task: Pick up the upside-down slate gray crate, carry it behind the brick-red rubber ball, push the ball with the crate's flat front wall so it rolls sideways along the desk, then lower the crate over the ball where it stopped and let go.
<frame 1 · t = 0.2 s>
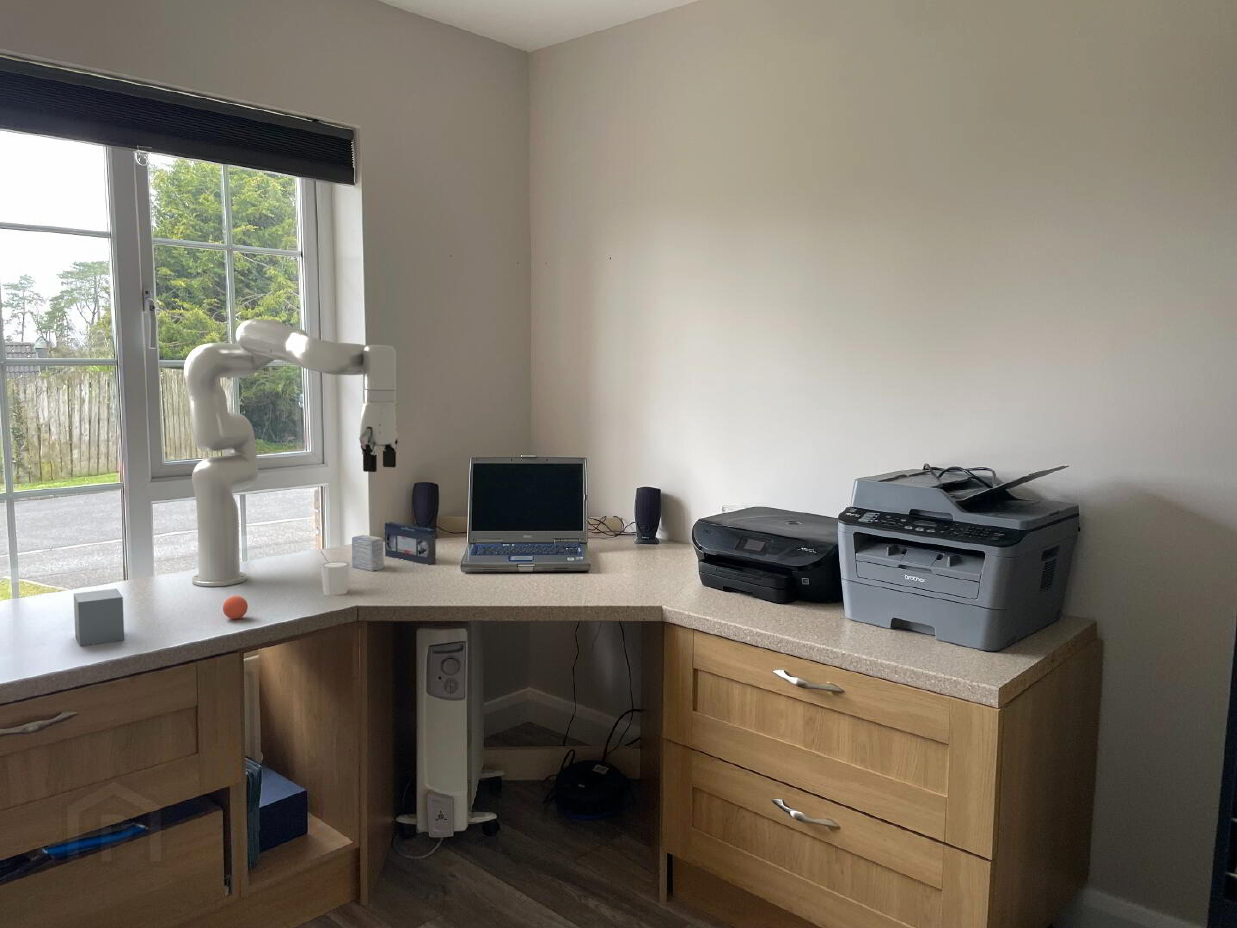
hand: (379, 469, 215), 31 cm above the table, tool pointing down, fingers open, 9 cm apart
shot glass: (335, 592, 221), on the table
slate gray crate: (99, 637, 182), on the table
light grey block: (367, 569, 247), on the table
ball: (235, 607, 197), on the table
vhs cassette tape: (409, 561, 258), on the table
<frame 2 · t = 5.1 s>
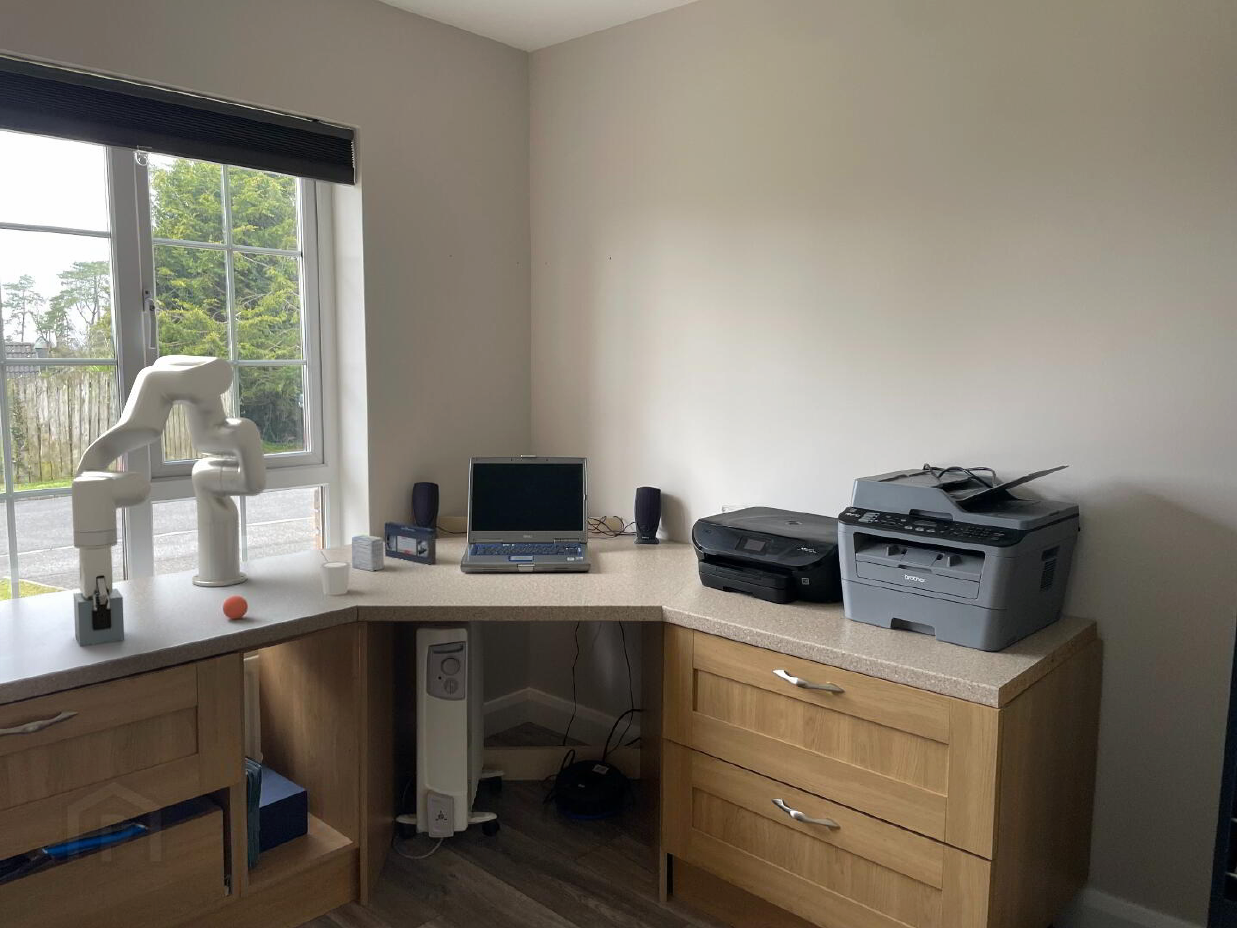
hand: (99, 623, 181), 3 cm above the table, tool pointing down, fingers closed on slate gray crate, 7 cm apart
slate gray crate: (99, 637, 182), on the table, touching gripper
everything else where it was.
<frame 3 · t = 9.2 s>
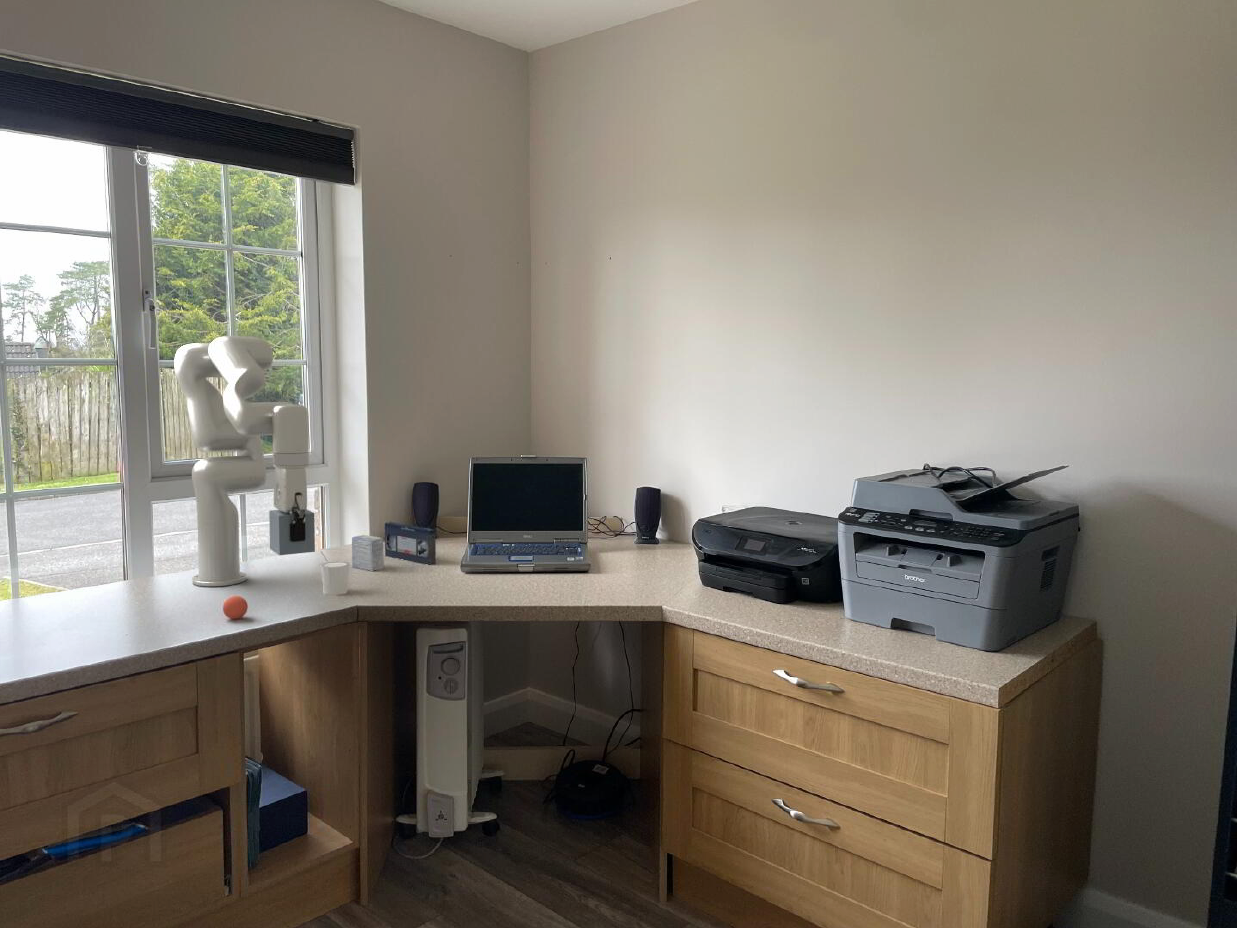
hand: (292, 537, 203), 17 cm above the table, tool pointing down, fingers closed on slate gray crate, 7 cm apart
slate gray crate: (292, 550, 203), point 14 cm above the table, touching gripper
everything else where it was.
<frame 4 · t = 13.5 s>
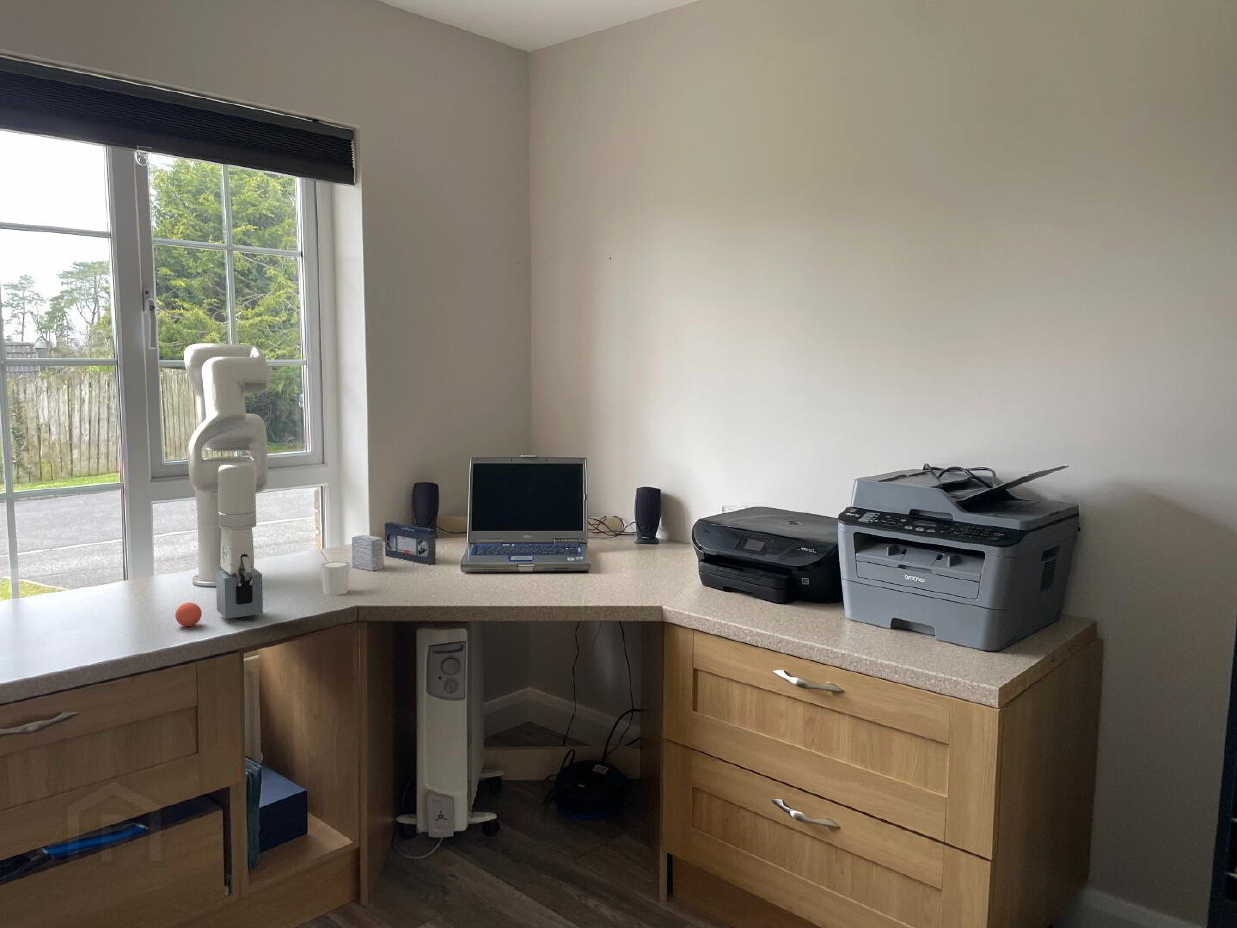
hand: (239, 598, 197), 4 cm above the table, tool pointing down, fingers closed on slate gray crate, 7 cm apart
slate gray crate: (239, 611, 198), point 1 cm above the table, touching gripper
ball: (188, 614, 191), on the table
everything else where it was.
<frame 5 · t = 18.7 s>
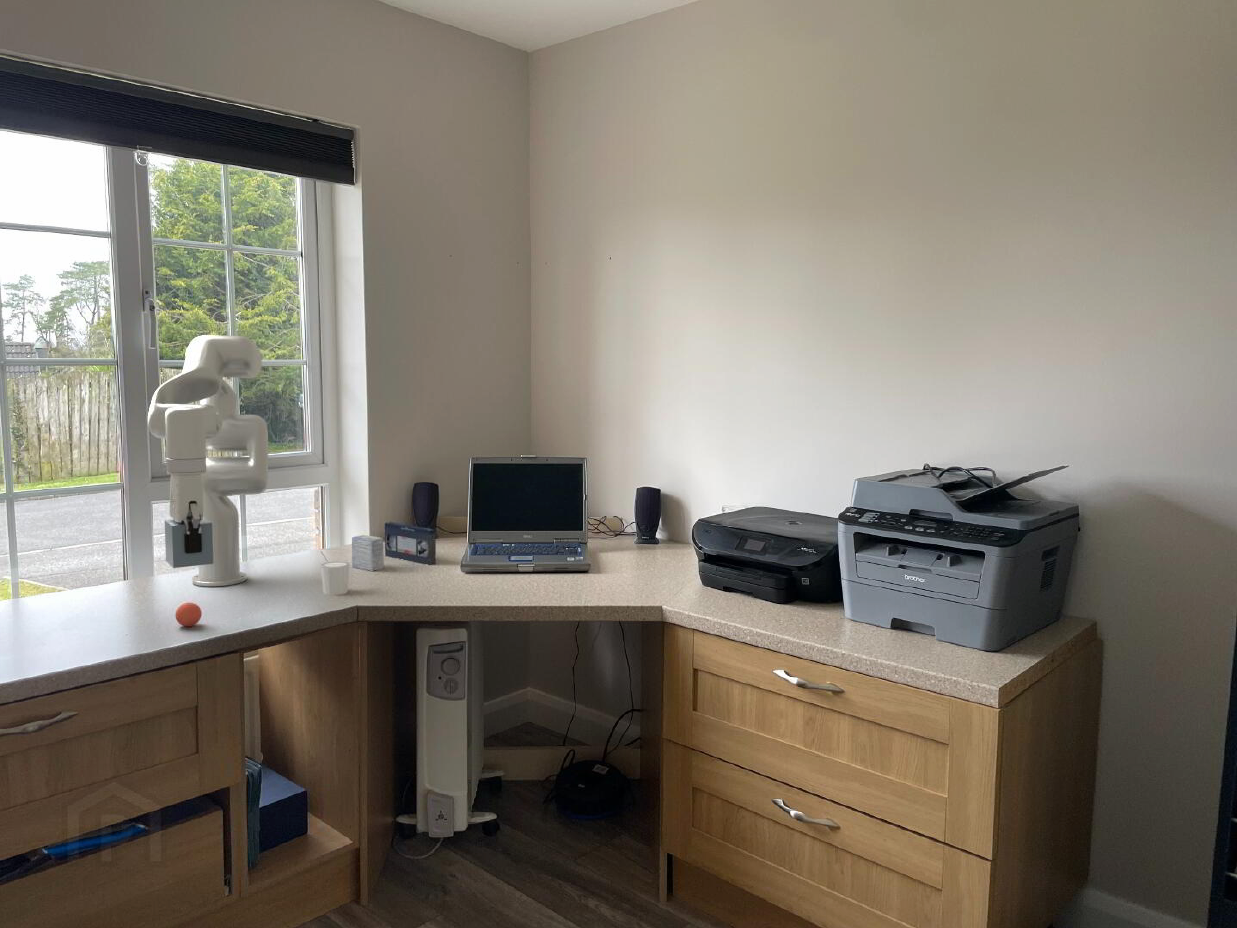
hand: (188, 548, 190), 17 cm above the table, tool pointing down, fingers closed on slate gray crate, 7 cm apart
slate gray crate: (189, 562, 190), point 14 cm above the table, touching gripper
everything else where it was.
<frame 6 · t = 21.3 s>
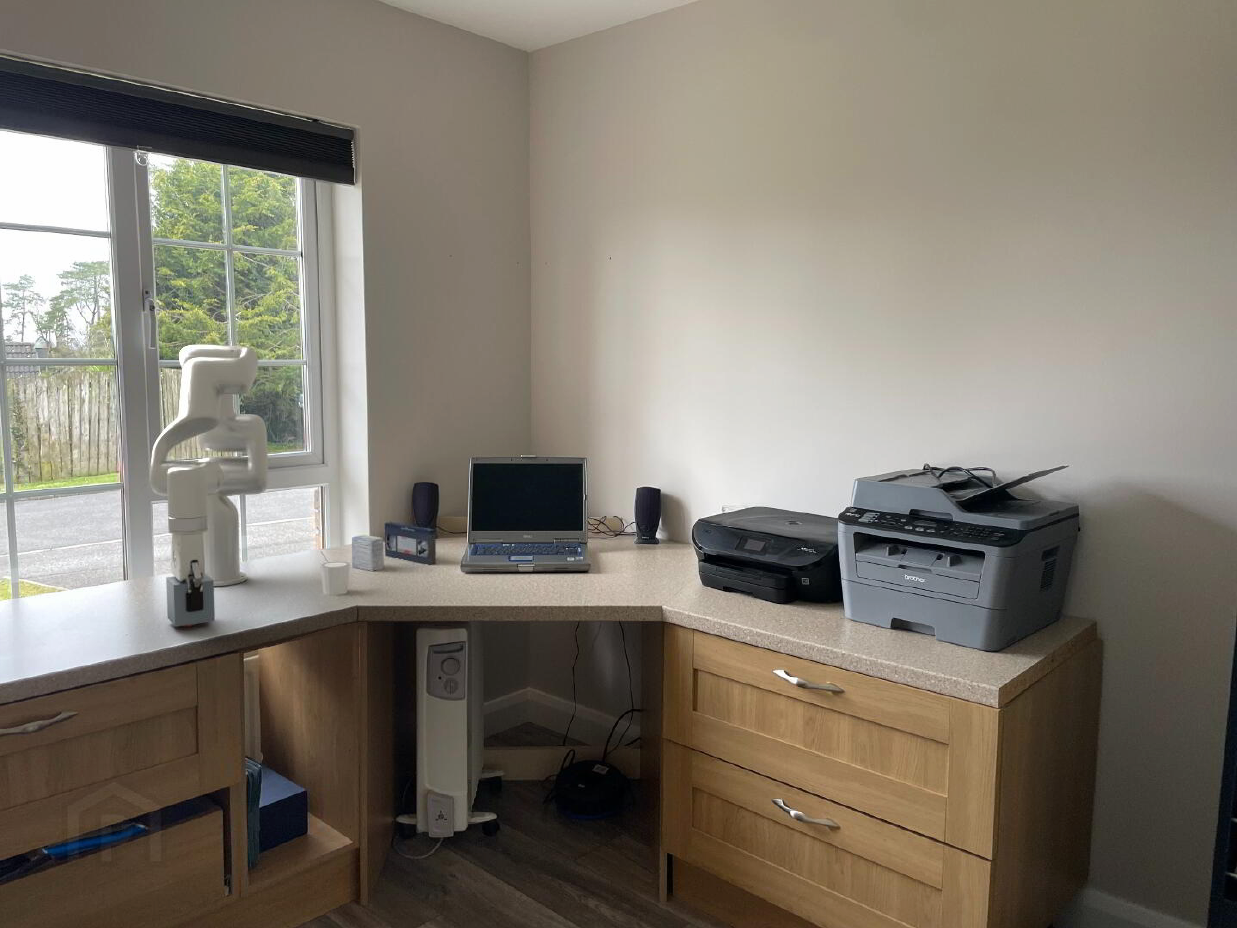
hand: (190, 605, 191), 4 cm above the table, tool pointing down, fingers closed on slate gray crate, 7 cm apart
slate gray crate: (191, 619, 192), point 1 cm above the table, touching gripper
everything else where it was.
when the fingers open (3 cm above the table, at t = 22.3 s): slate gray crate stays where it is, on the table.
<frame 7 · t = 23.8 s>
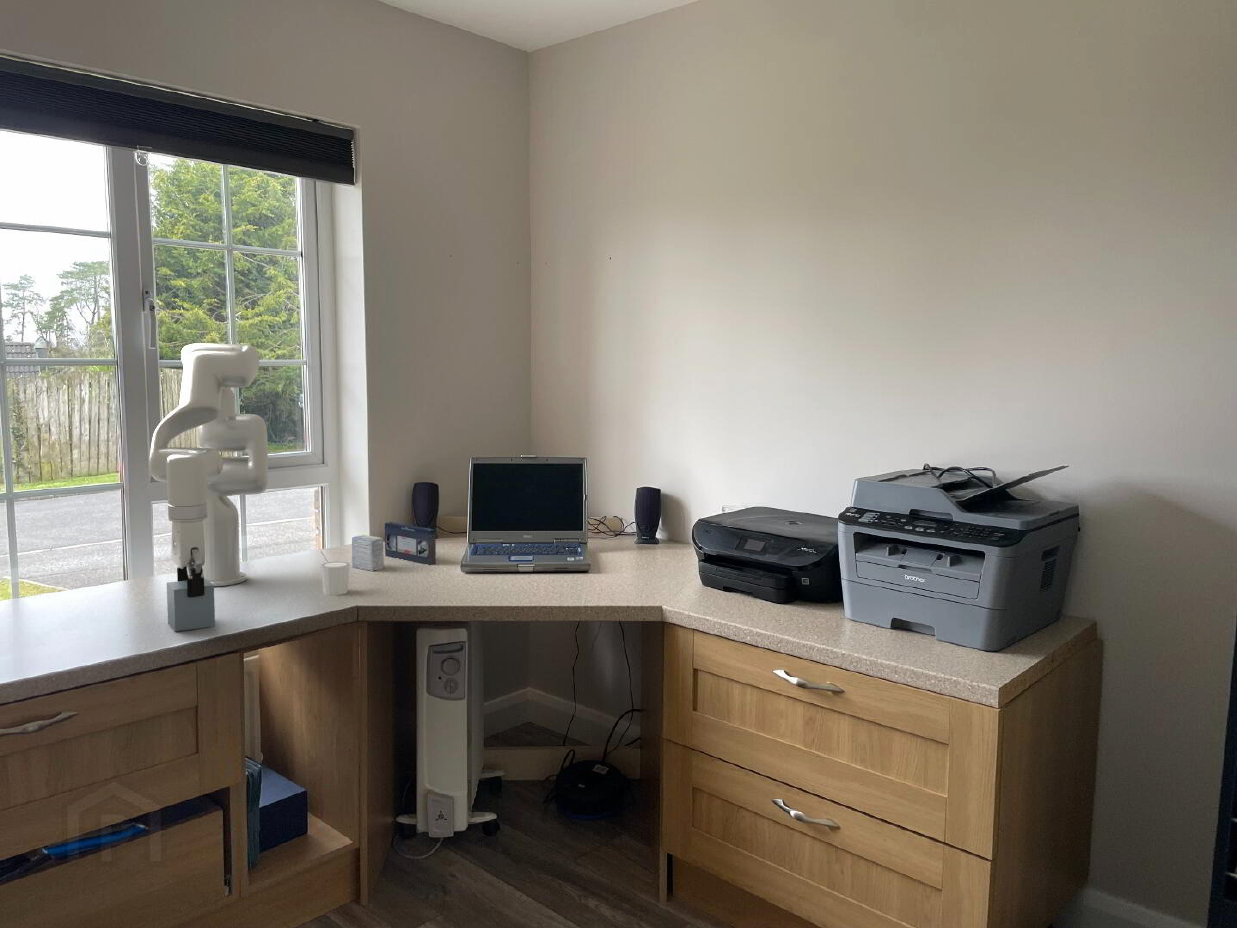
hand: (190, 590, 192), 7 cm above the table, tool pointing down, fingers open, 9 cm apart
slate gray crate: (191, 624, 192), on the table
everything else where it was.
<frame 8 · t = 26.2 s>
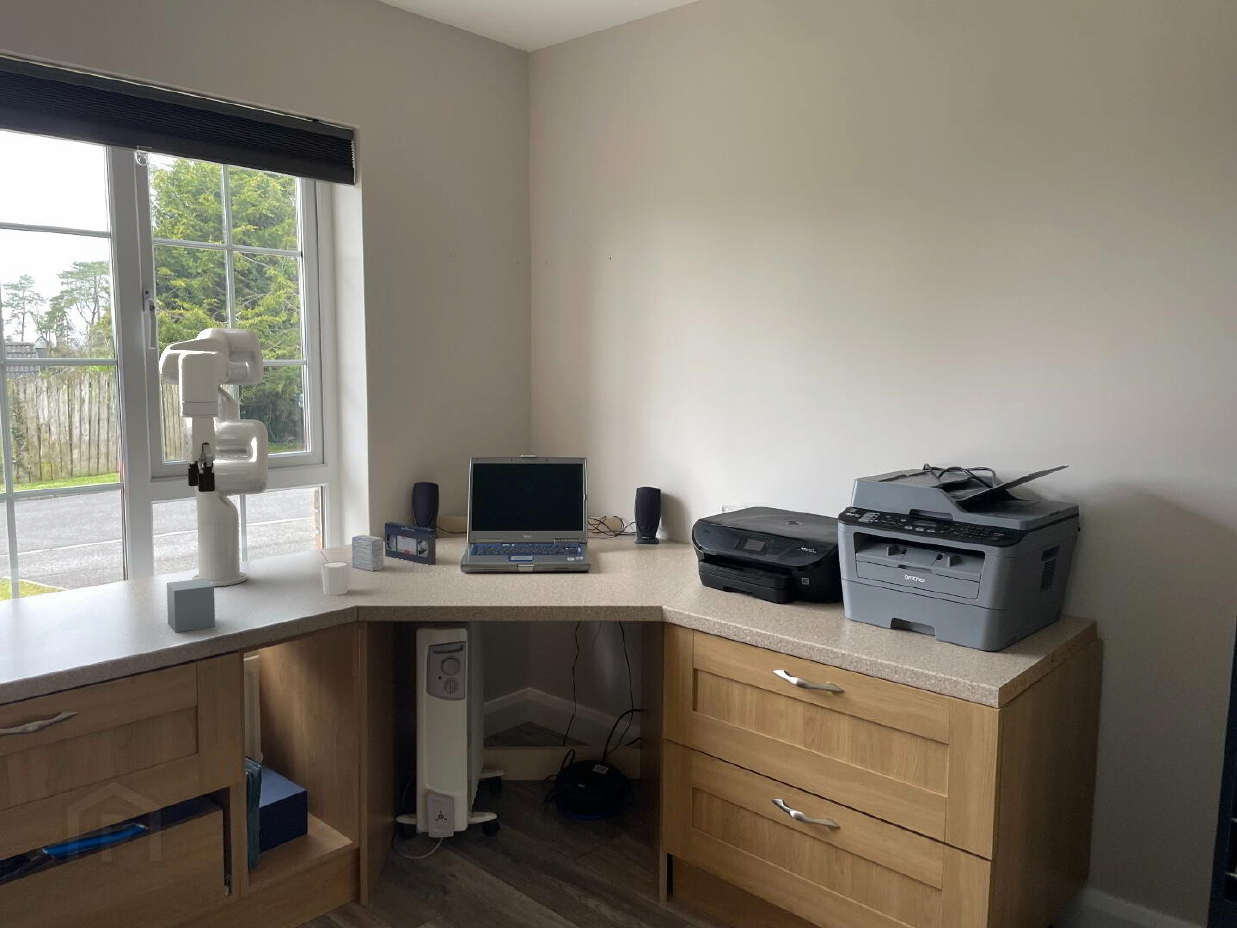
hand: (201, 488, 196), 28 cm above the table, tool pointing down, fingers open, 9 cm apart
nothing on the table moved.
at the end: ball 0.8 cm from the slate gray crate (horizontally); slate gray crate on the table; ball moved 9.5 cm from its start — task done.
